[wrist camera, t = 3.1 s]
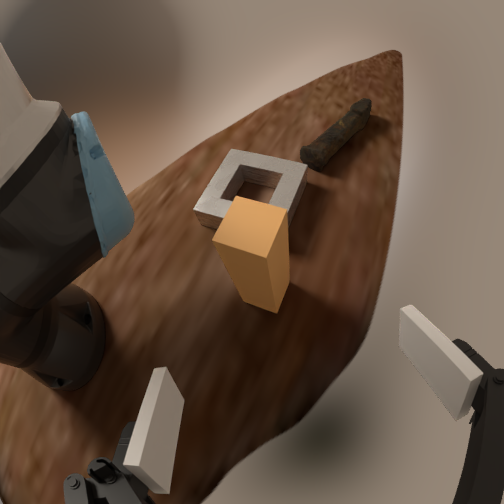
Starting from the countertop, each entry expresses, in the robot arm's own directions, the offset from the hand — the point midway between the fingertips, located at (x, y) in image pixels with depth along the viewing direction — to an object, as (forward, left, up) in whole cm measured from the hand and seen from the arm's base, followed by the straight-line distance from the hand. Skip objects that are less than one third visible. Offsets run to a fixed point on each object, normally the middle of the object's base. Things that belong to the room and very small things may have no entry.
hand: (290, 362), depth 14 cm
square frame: (-12, +19, -15) cm, 27 cm away
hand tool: (-4, +36, -16) cm, 39 cm away
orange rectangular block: (-6, +8, -15) cm, 18 cm away
